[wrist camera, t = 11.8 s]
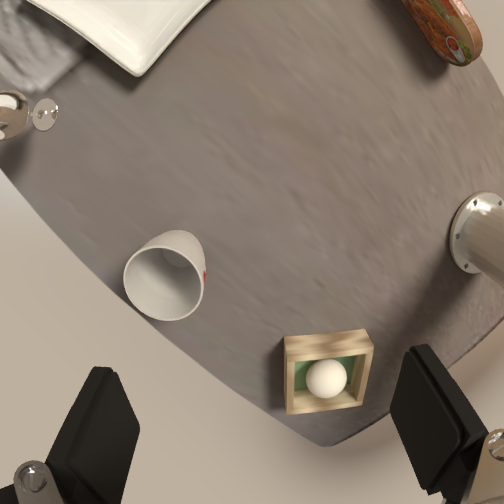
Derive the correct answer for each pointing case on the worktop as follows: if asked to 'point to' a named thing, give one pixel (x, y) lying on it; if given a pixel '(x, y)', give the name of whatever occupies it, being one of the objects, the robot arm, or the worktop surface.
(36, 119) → the wineglass
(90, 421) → the robot arm
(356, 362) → the wooden square tray
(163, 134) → the worktop surface
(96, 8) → the square plate
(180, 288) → the cup
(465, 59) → the tin
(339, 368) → the ball
